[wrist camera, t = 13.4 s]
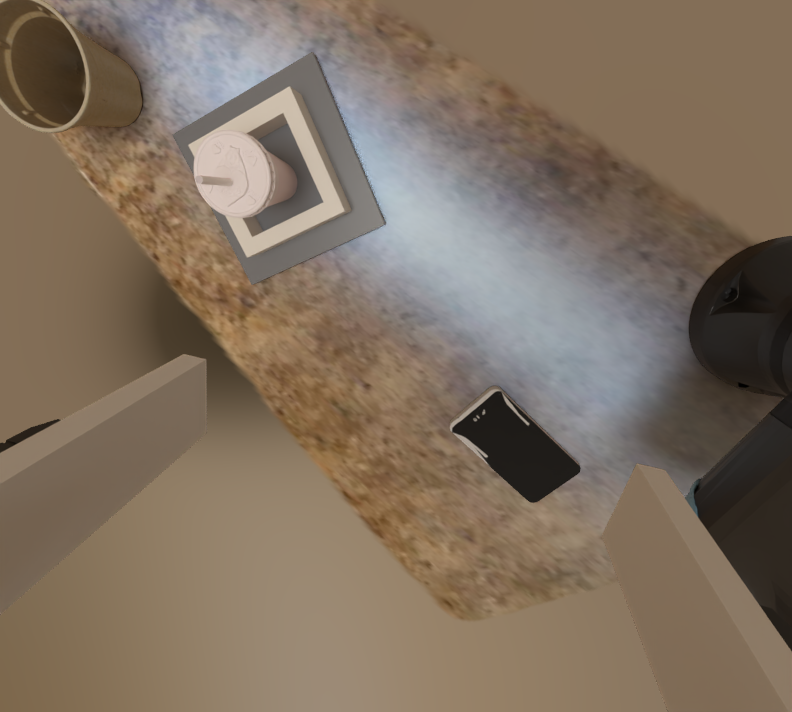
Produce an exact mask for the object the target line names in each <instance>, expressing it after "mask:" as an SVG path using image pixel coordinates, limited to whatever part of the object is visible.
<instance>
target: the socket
mask: <svg viewBox="0 0 792 712" xmlns="http://www.w3.org/2000/svg"><path fill="white" fill-rule="evenodd" d="M220 130H234V131H241V132H244V133H246V134H248V135H250V136H252V137H254V138H255V139H256V140H257V141H259V142H260V143H261V144H262V145H263V147H264V148H265V149H266V150H267V151H268V152H270V153H271V154H273V155H274V156H276V157H278V158H279V159H281V160H282V161H284V162H285V163H287V164H288V165H290V166H291V167H292V169H293V170H294V172H295V174H296V177H297V189H296V192H295V193H294V195H293V196H292V197H291V198H290V199H288V200H285V201H283V202H280V203H277V204H274V205H271V206H268V207H266V208H265V209H264V210H262V211H261V212H260V213H258V214H256V215H254V216H252V217H246V218H235V217H229V216H226V215H223V214H221V213H219V212H217V211H216V210H214V209H213V208H212V207H211V206H210V207H211V209H212V211H213V212H214V214H215V216H216V218H217V220H218V222H219V224H220V226H221V227H222V229H223V231H224V233H225V235H226V237H227V239H228V241H229V243H230V244H231V246H232V248H233V250H234V252H235V254H236V256H237V258H238V259H239V261H240V263H241V265H242V267H243V269H244V271H245V273H246V275H247V276H248V278H249V280H250V282H251V284H252V285H253V284H255V283H258V282H260V281H262V280H264V279H266V278H269V277H271V276H273V275H275V274H277V273H280V272H282V271H284V270H286V269H288V268H291V267H293V266H295V265H297V264H299V263H302V262H304V261H306V260H308V259H310V258H313V257H315V256H317V255H319V254H321V253H324V252H326V251H328V250H330V249H332V248H334V247H337V246H339V245H341V244H343V243H345V242H348V241H350V240H352V239H354V238H356V237H359V236H361V235H363V234H365V233H367V232H370V231H372V230H374V229H376V228H378V227H381V226H383V225H385V224H386V223H385V221H384V218H383V216H382V213H381V211H380V209H379V206H378V204H377V201H376V199H375V197H374V194H373V192H372V189H371V187H370V185H369V182H368V180H367V177H366V175H365V173H364V170H363V168H362V165H361V163H360V161H359V158H358V156H357V153H356V151H355V149H354V146H353V144H352V141H351V139H350V137H349V134H348V132H347V129H346V127H345V125H344V122H343V120H342V117H341V115H340V113H339V110H338V108H337V105H336V103H335V101H334V98H333V96H332V93H331V91H330V88H329V86H328V84H327V81H326V79H325V76H324V74H323V72H322V69H321V67H320V64H319V62H318V60H317V57H316V55H315V54H314V53H313V52H311V53H310V54H308V55H306V56H305V57H303V58H301V59H299V60H298V61H296V62H294V63H293V64H291V65H289V66H288V67H286V68H284V69H283V70H281V71H279V72H278V73H276V74H274V75H272V76H271V77H269V78H267V79H266V80H264V81H262V82H261V83H259V84H257V85H256V86H254V87H252V88H251V89H249V90H247V91H246V92H244V93H242V94H240V95H239V96H237V97H235V98H234V99H232V100H230V101H229V102H227V103H225V104H224V105H222V106H220V107H219V108H217V109H215V110H213V111H212V112H210V113H208V114H207V115H205V116H203V117H202V118H200V119H198V120H197V121H195V122H193V123H192V124H190V125H188V126H186V127H185V128H183V129H181V130H180V131H178V132H176V133H175V134H173V137H174V139H175V141H176V143H177V145H178V146H179V148H180V150H181V152H182V154H183V156H184V158H185V160H186V162H187V163H188V165H189V167H190V169H191V171H192V173H193V175H194V158H195V154H196V151H197V149H198V147H199V145H200V144H201V142H202V141H203V140H204V139H205V138H206V137H207V136H209V135H210V134H212V133H214V132H216V131H220Z"/></svg>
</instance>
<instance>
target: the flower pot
mask: <svg viewBox="0 0 792 712" xmlns="http://www.w3.org/2000/svg"><path fill="white" fill-rule="evenodd" d="M0 104H1V105H2V107H3V108H4V109H5V110H6V111H7V112H8V113H9V114H10V115H11V116H12V117H14V118H15V119H16V120H18V121H19V122H20V123H22V124H23V125H25V126H27V127H29V128H31V129H34V130H37V131H40V132H46V133H58V132H63V131H66V130H68V129H70V128H74V127H77V126H102V127H124V126H128V125H130V124H131V123H132V122H134V121H135V120H136V119H137V117H138V116H139V114H140V111H141V108H142V97H141V92H140V83H139V80H138V78H137V76H136V74H135V73H134V71H133V70H132V69H131V67H130V66H129V65H128V64H127V63H126V62H125V61H123V60H122V59H121V58H119V57H117V56H115V55H114V54H112V53H111V52H109V51H107V50H106V49H104V48H103V47H101V46H100V45H98V44H97V43H95V42H93V41H92V40H90V39H89V38H87V37H86V36H84V35H83V34H81V33H80V32H78V31H77V30H76V29H75V28H74V27H73V26H72V25H71V24H70V23H69V22H68V21H67V20H66V19H65V18H64V16H63V15H62V14H60V13H59V12H58V11H57V10H56V9H55V8H53V7H52V6H51V5H49V4H48V3H46V2H45V1H43V0H0Z"/></svg>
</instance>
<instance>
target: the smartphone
mask: <svg viewBox="0 0 792 712" xmlns="http://www.w3.org/2000/svg"><path fill="white" fill-rule="evenodd" d="M450 430H451V432H452V433H453V434H455V435H456V436H457V437H458V438H459V439H460V440H461V441H462V442H463V443H465V444H466V445H467V446H468V447H469V448H470V449H471V450H472V451H473V452H474V453H476V454H477V455H478V456H479V457H480V458H481V459H482V460H483V461H484V462H486V463H487V464H488V465H489V466H490V467H491V468H492V469H493V470H494V471H496V472H497V473H498V474H499V475H500V476H501V477H502V478H503V479H504V480H506V481H507V482H508V483H509V484H510V485H511V486H512V487H513V488H514V489H515V490H517V491H518V492H519V493H520V494H521V495H522V496H523V497H524V498H525V499H527V500H528V501H529V502H532V503H534V502H538V501H539V500H541V499H542V498H544V497H545V496H547V495H548V494H549V493H551V492H552V491H554V490H555V489H557V488H558V487H560V486H561V485H562V484H564V483H565V482H567V481H568V480H570V479H571V478H573V477H574V476H575V475H577V474H578V473H579V472H580V466H579V464H578V462H577V461H576V460H575V459H574V458H573V457H572V456H571V455H570V454H569V453H568V452H567V451H566V450H564V449H563V448H562V447H561V446H560V445H559V444H558V443H557V442H556V441H555V440H554V439H553V438H552V437H551V436H550V435H549V434H548V433H547V432H546V431H545V430H544V429H543V428H541V427H540V426H539V425H538V424H537V423H536V422H535V421H534V420H533V419H532V418H531V417H530V416H529V415H528V414H527V413H526V412H525V411H524V410H523V409H522V408H521V407H519V406H518V405H517V404H516V403H515V402H514V401H513V400H512V399H511V398H510V397H509V396H508V395H507V394H506V393H505V392H504V391H503V390H502V389H501V388H499V387H497V386H492V387H490V388H488V389H487V390H486V391H485V392H484V393H482V394H481V395H480V396H479V397H478V398H477V399H475V400H474V401H473V402H472V403H471V404H469V405H468V406H467V407H466V408H465V409H463V410H462V411H461V412H460V413H459V414H458V415H456V416H455V417H454V418H453V419H452V420H451V421H450Z"/></svg>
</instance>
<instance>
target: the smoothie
mask: <svg viewBox="0 0 792 712" xmlns="http://www.w3.org/2000/svg"><path fill="white" fill-rule="evenodd" d="M194 177H195V182H196V185H197V187H198V190H199V192H200V194H201V195H202V197H203V198H204V200H205V201H206V202H207V203H208V204H209V205H210V206H211V207H212V208H213V209H214V210H216V211H217V212H219V213H221V214H223V215H226V216H229V217H235V218H246V217H252V216H254V215H256V214H258V213H260V212H261V211H262V210H264V209H265V208H266V207H268V206H271V205H274V204H277V203H280V202H283V201H285V200H288V199H290V198H291V197H292V196H293V195H294V193H295V192H296V189H297V177H296V174H295V172H294V170H293V169H292V167H291V166H290V165H288V164H287V163H285V162H284V161H282V160H281V159H279V158H278V157H276V156H274V155H273V154H271V153H270V152H268V151H267V150H266V149H265V148H264V147H263V145H262V144H261V143H260V142H259V141H257V140H256V139H255V138H254V137H252V136H250V135H248V134H246V133H244V132H241V131H234V130H220V131H216V132H214V133H212V134H210V135H209V136H207V137H206V138H205V139H204V140H203V141H202V142H201V144H200V145H199V147H198V149H197V151H196V154H195V158H194Z"/></svg>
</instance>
